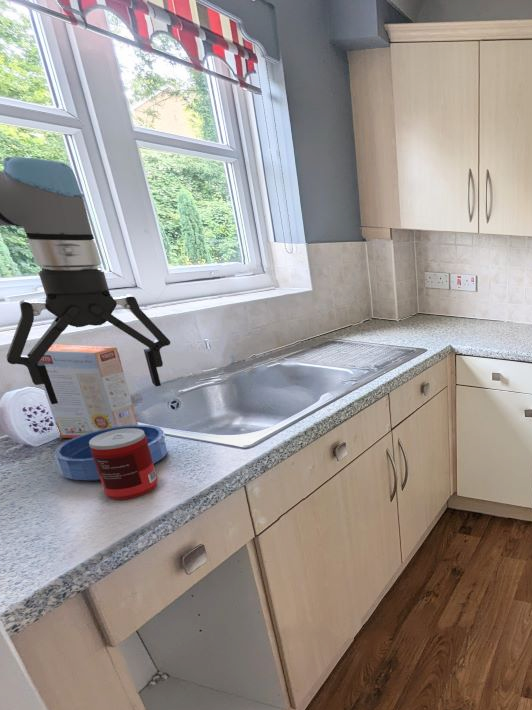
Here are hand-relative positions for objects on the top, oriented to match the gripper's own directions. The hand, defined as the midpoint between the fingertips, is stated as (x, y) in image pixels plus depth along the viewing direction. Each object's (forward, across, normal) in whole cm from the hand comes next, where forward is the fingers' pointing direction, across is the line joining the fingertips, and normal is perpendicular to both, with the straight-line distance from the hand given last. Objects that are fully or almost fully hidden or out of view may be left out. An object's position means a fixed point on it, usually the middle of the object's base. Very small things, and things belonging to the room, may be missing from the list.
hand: (108, 392), depth 80 cm
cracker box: (+19, -1, +33) cm, 38 cm away
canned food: (+19, -1, 0) cm, 19 cm away
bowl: (+19, -1, +14) cm, 24 cm away
